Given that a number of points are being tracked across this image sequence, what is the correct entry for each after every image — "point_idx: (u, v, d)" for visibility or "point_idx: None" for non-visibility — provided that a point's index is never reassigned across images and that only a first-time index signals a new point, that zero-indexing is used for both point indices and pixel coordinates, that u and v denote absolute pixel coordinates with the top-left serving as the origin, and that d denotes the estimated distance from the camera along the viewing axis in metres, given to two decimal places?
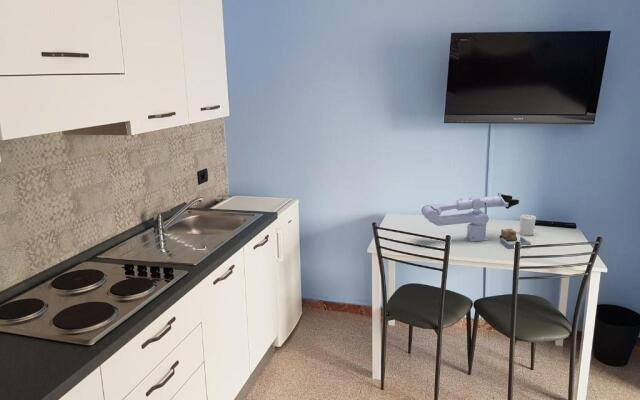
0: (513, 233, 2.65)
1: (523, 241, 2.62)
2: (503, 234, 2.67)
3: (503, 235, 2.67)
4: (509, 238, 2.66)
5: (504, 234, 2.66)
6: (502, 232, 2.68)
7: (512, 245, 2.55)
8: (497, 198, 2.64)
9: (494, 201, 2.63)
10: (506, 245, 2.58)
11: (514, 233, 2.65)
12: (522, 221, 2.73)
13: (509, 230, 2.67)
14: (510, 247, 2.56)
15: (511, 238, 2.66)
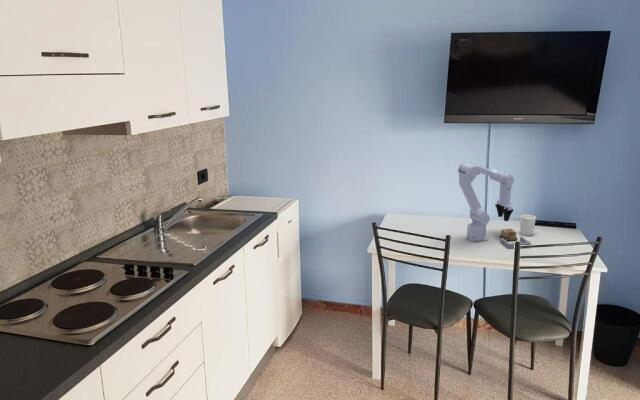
0: (513, 233, 2.65)
1: (523, 241, 2.62)
2: (503, 234, 2.67)
3: (503, 235, 2.67)
4: (509, 238, 2.66)
5: (504, 234, 2.66)
6: (502, 232, 2.68)
7: (512, 245, 2.55)
8: (509, 200, 2.69)
9: (508, 197, 2.67)
10: (506, 245, 2.58)
11: (514, 233, 2.65)
12: (522, 221, 2.73)
13: (509, 230, 2.67)
14: (510, 247, 2.56)
15: (511, 238, 2.66)
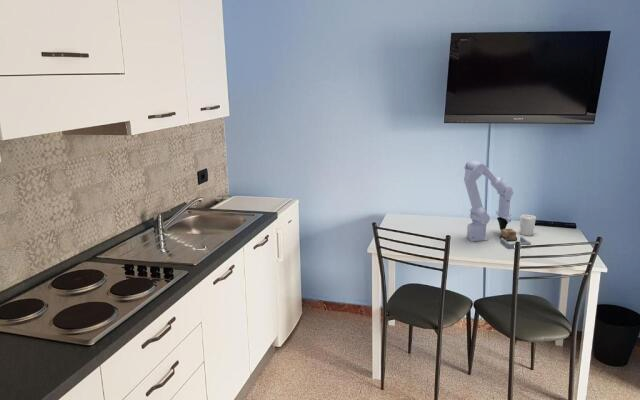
0: (513, 233, 2.65)
1: (523, 241, 2.62)
2: (503, 234, 2.67)
3: (503, 235, 2.67)
4: (509, 238, 2.66)
5: (504, 234, 2.66)
6: (502, 232, 2.68)
7: (512, 245, 2.55)
8: None
9: (507, 209, 2.69)
10: (506, 245, 2.58)
11: (514, 233, 2.65)
12: (522, 221, 2.73)
13: (509, 230, 2.67)
14: (510, 247, 2.56)
15: (511, 238, 2.66)
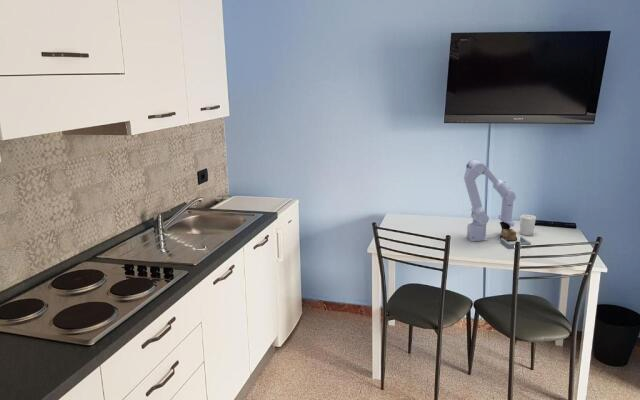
0: (513, 233, 2.65)
1: (523, 241, 2.62)
2: (503, 234, 2.67)
3: (503, 235, 2.67)
4: (509, 238, 2.66)
5: (504, 234, 2.66)
6: (502, 232, 2.68)
7: (512, 245, 2.55)
8: (511, 216, 2.67)
9: (510, 214, 2.66)
10: (506, 245, 2.58)
11: (514, 233, 2.65)
12: (522, 221, 2.73)
13: (509, 230, 2.67)
14: (510, 247, 2.56)
15: (511, 238, 2.66)
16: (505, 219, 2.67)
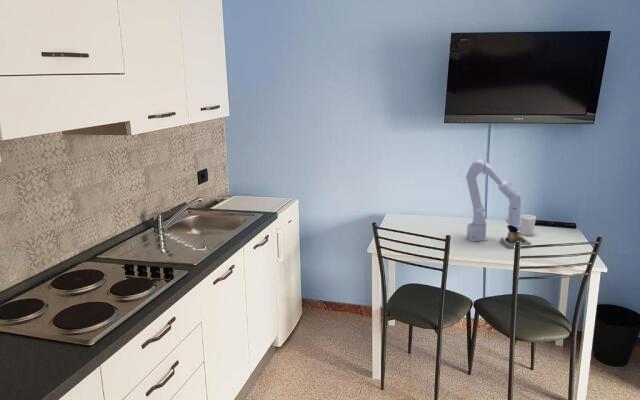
0: (519, 238, 2.59)
1: (523, 241, 2.62)
2: (509, 238, 2.61)
3: (509, 239, 2.61)
4: None
5: (510, 238, 2.60)
6: (508, 235, 2.62)
7: (512, 245, 2.55)
8: (519, 220, 2.60)
9: (518, 217, 2.58)
10: (506, 245, 2.58)
11: (520, 238, 2.59)
12: (522, 221, 2.73)
13: (516, 234, 2.60)
14: (510, 247, 2.56)
15: None
16: (513, 223, 2.59)
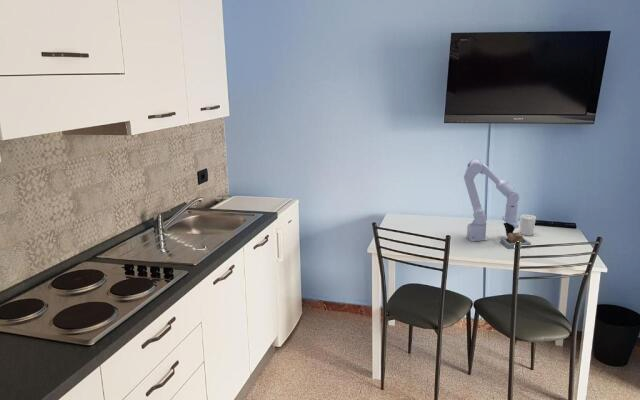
0: (519, 237, 2.59)
1: (523, 241, 2.62)
2: (509, 237, 2.61)
3: (509, 239, 2.61)
4: None
5: (510, 238, 2.60)
6: (508, 236, 2.62)
7: (512, 245, 2.55)
8: None
9: (514, 215, 2.61)
10: (506, 245, 2.58)
11: (520, 237, 2.59)
12: (522, 221, 2.73)
13: (515, 234, 2.61)
14: (510, 247, 2.56)
15: None
16: (509, 220, 2.62)
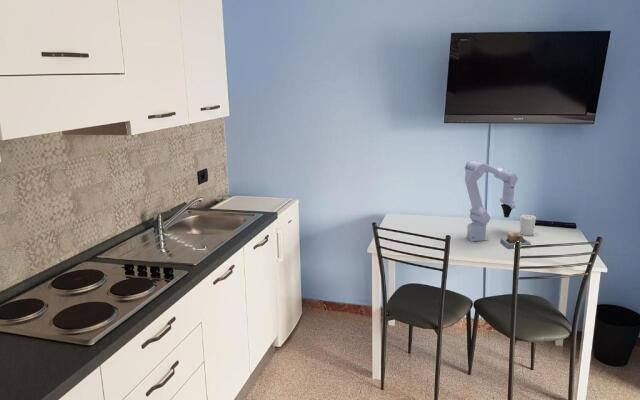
0: (519, 237, 2.59)
1: (523, 241, 2.62)
2: (509, 237, 2.61)
3: (509, 239, 2.61)
4: None
5: (510, 238, 2.60)
6: (508, 236, 2.62)
7: (512, 245, 2.55)
8: None
9: (512, 196, 2.70)
10: (506, 245, 2.58)
11: (520, 237, 2.59)
12: (522, 221, 2.73)
13: (515, 234, 2.61)
14: (510, 247, 2.56)
15: None
16: (506, 201, 2.71)
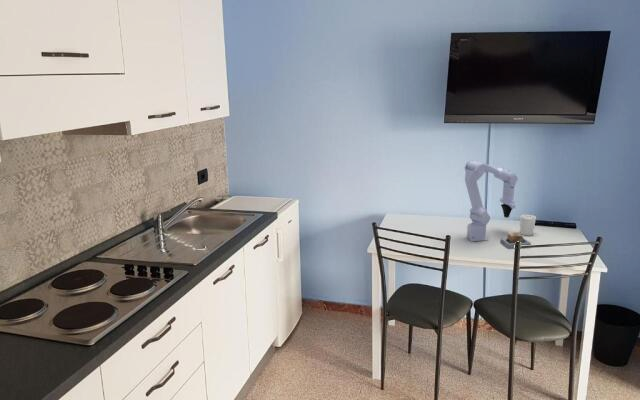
0: (519, 237, 2.59)
1: (523, 241, 2.62)
2: (509, 237, 2.61)
3: (509, 239, 2.61)
4: None
5: (510, 238, 2.60)
6: (508, 236, 2.62)
7: (512, 245, 2.55)
8: None
9: (512, 196, 2.70)
10: (506, 245, 2.58)
11: (520, 237, 2.59)
12: (522, 221, 2.73)
13: (515, 234, 2.61)
14: (510, 247, 2.56)
15: None
16: (506, 201, 2.71)
